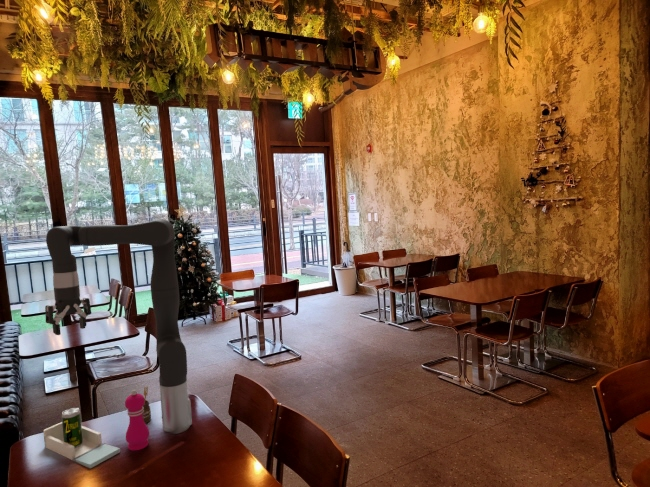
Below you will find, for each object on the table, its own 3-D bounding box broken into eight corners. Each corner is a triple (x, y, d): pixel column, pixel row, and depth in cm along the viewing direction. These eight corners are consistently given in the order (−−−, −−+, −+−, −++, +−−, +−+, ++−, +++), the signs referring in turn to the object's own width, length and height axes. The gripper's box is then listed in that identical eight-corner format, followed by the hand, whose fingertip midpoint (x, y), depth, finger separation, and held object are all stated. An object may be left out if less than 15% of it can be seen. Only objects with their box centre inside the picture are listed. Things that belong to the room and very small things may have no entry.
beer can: (64, 444, 148) (60, 410, 147) (82, 439, 151) (79, 406, 150) (64, 452, 144) (61, 416, 143) (83, 446, 147) (80, 412, 146)
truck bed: (74, 435, 156) (73, 417, 155) (102, 447, 148) (100, 427, 147) (45, 450, 147) (43, 430, 147) (72, 462, 139) (70, 441, 139)
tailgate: (103, 442, 148) (120, 447, 143) (103, 447, 148) (121, 452, 143) (72, 458, 139) (89, 464, 134) (72, 463, 139) (90, 469, 134)
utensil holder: (130, 423, 163) (127, 392, 162) (142, 415, 169) (140, 385, 168) (143, 425, 162) (141, 394, 160) (155, 417, 167) (152, 387, 166)
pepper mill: (122, 448, 146) (118, 390, 145) (144, 439, 152) (139, 383, 150) (132, 456, 142) (127, 396, 140) (154, 447, 147) (149, 389, 145)
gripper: (50, 289, 142) (55, 338, 143) (93, 282, 154) (96, 327, 156) (38, 288, 146) (42, 335, 147) (80, 280, 158) (84, 325, 159)
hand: (70, 331), depth 151 cm, fingers open, 8 cm apart
